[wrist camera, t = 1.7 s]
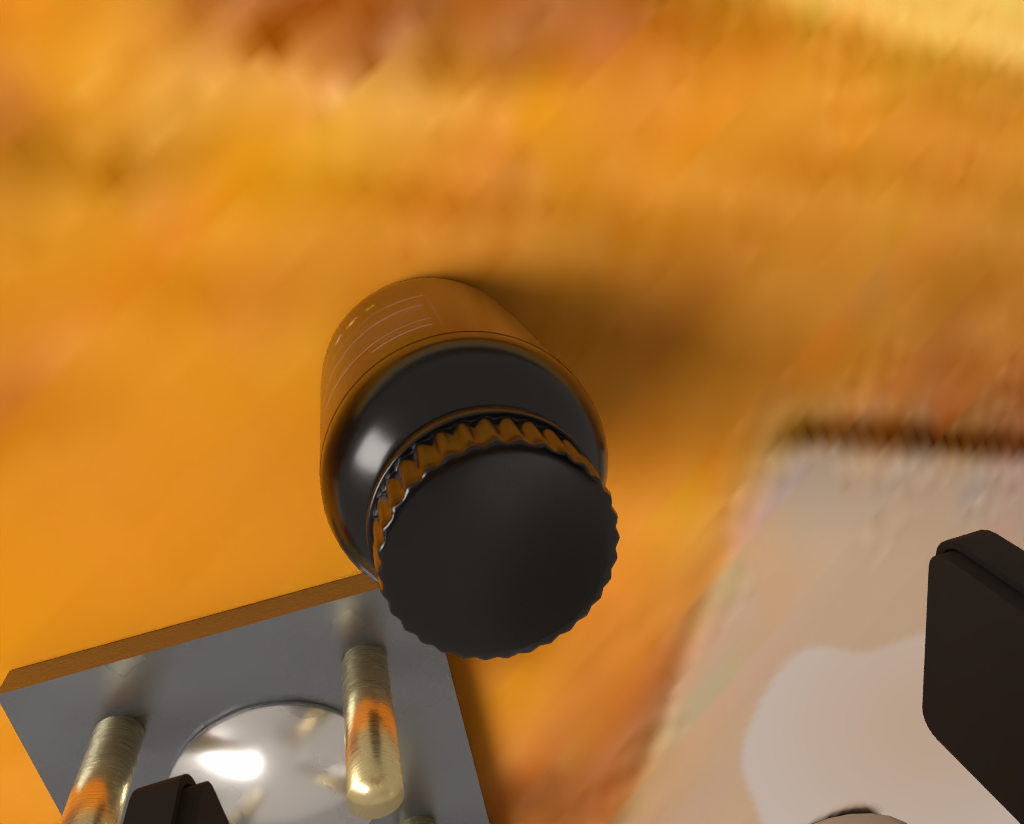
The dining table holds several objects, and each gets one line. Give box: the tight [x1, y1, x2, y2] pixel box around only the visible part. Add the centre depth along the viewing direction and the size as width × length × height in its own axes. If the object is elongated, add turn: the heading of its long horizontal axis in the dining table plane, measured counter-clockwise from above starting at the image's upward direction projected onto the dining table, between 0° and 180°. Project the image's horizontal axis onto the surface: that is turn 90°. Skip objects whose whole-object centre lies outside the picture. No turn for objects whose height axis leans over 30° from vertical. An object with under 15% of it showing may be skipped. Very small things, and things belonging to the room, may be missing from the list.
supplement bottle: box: [320, 278, 620, 660], centre depth 20 cm, size 7×7×12 cm
